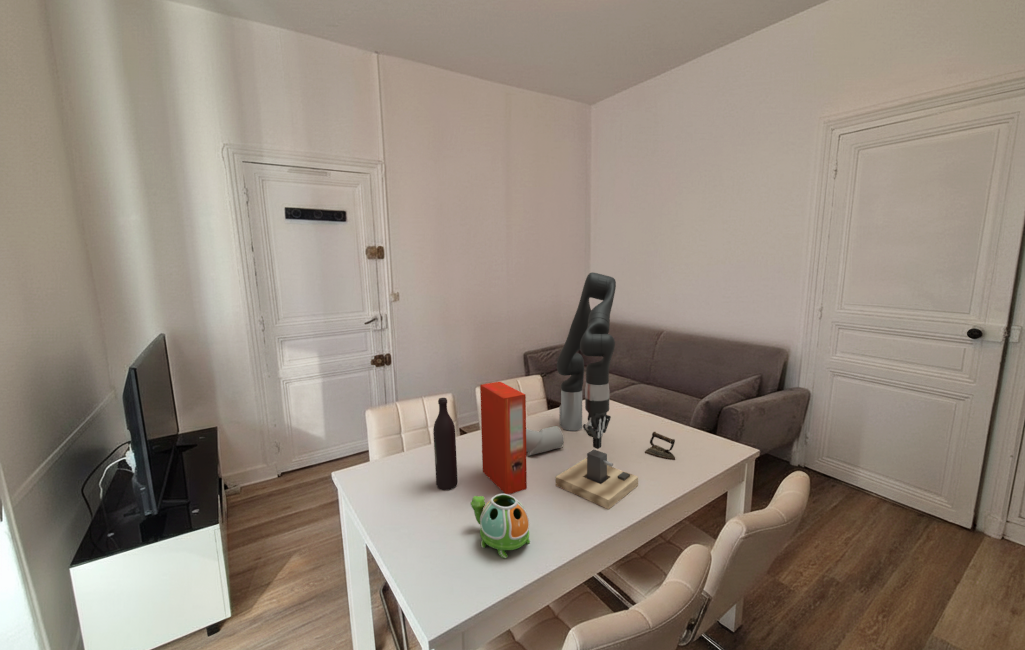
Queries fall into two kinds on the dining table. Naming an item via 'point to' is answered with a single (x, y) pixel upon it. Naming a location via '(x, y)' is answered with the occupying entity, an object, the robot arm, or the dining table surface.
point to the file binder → (504, 436)
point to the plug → (597, 466)
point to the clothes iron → (660, 451)
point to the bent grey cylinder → (543, 440)
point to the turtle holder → (501, 522)
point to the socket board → (597, 484)
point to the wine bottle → (445, 449)
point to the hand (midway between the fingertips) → (597, 447)
